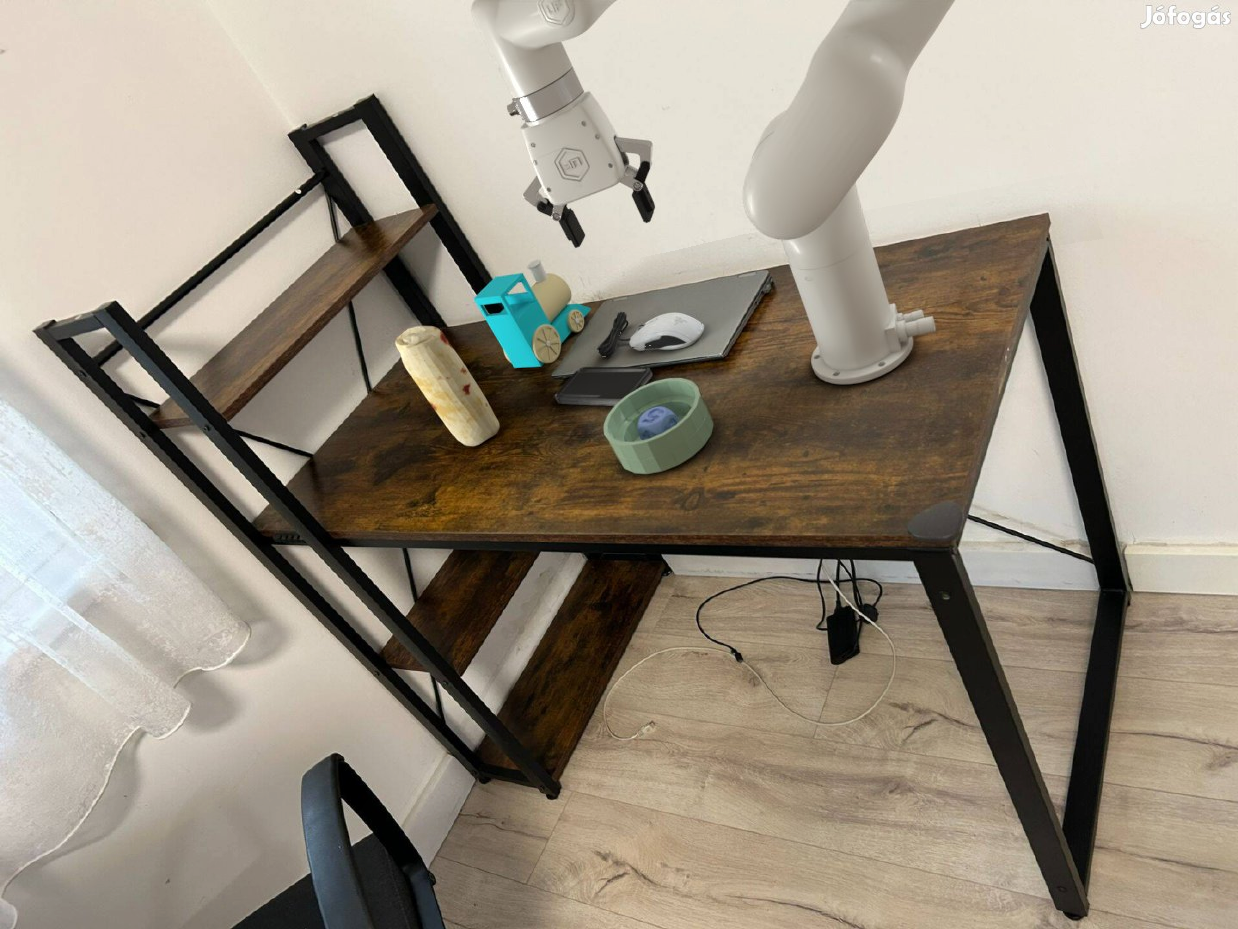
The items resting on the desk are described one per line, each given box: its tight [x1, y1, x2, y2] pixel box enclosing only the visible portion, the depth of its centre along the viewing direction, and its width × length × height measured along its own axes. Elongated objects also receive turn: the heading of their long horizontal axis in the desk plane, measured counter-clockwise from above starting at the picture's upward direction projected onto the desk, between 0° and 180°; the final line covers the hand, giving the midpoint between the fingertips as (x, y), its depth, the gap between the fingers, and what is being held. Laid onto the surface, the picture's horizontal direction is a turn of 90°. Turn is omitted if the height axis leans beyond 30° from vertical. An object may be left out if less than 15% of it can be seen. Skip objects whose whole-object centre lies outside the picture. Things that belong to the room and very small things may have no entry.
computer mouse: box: [596, 311, 705, 359], centre depth 136 cm, size 10×18×4 cm, turn 61°
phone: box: [554, 366, 654, 407], centre depth 131 cm, size 8×1×15 cm
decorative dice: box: [637, 407, 679, 440], centre depth 112 cm, size 4×4×4 cm
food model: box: [395, 325, 500, 447], centre depth 132 cm, size 10×7×20 cm
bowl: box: [603, 377, 714, 475], centre depth 112 cm, size 13×13×6 cm
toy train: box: [473, 259, 592, 369], centre depth 148 cm, size 8×17×15 cm, turn 148°
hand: (614, 230), depth 108 cm, fingers open, 9 cm apart
